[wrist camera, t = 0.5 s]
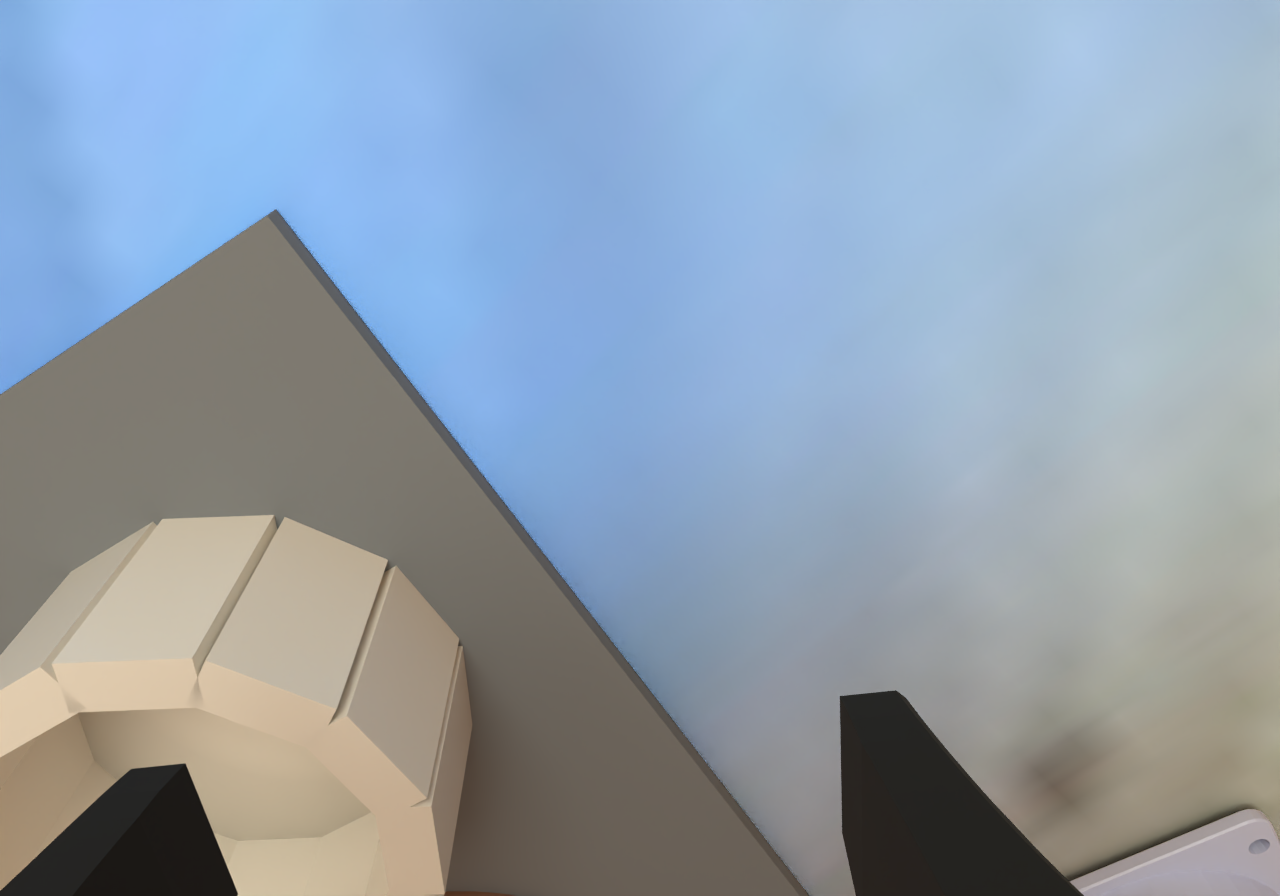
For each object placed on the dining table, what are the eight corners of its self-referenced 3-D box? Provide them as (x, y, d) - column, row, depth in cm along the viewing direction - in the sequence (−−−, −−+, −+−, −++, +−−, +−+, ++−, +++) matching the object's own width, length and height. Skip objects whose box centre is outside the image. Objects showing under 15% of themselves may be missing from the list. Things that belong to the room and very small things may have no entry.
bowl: (547, 740, 23) (536, 910, 19) (240, 893, 25) (171, 1078, 21) (287, 439, 19) (204, 569, 15) (-50, 645, 21) (-202, 809, 17)
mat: (918, 1036, 29) (923, 1053, 28) (438, 1225, 32) (436, 1243, 32) (275, 209, 18) (267, 215, 17) (-353, 631, 21) (-373, 645, 21)
